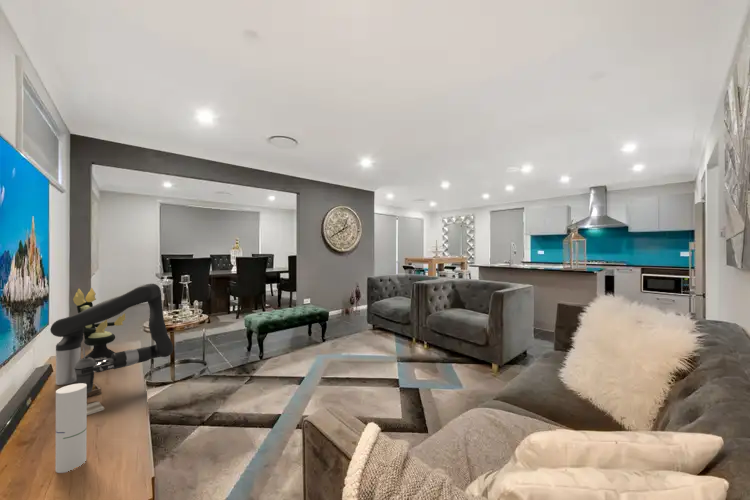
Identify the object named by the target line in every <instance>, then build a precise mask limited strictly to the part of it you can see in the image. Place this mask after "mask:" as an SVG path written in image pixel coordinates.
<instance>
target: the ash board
mask: <svg viewBox="0 0 750 500" xmlns="http://www.w3.org/2000/svg"><path fill="white" fill-rule="evenodd" d="M102 411H105V406H103V405H102V403H100V401H98V400H97V401H94V402H91V403H87V416H89V415H93V414H96V413H99V412H102Z"/></svg>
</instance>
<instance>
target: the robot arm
mask: <svg viewBox="0 0 750 500" xmlns="http://www.w3.org/2000/svg"><path fill="white" fill-rule="evenodd" d="M145 303H147V304H148V307H149V317H148V329H149V333H150V338H151V339H152V340H153V341H154V342H155V344H153V345H149V346H144V347H139V348H135V349H134V348H133V349H128V350H122V351H117V352H115V353H113V354H112V355H111V358H105V357H100V358H95V359H94V360H95V362H96V365H95V366H91V367H87V368H82V369H81V373H82V374H84V373H88V372H94V373H101V372H105V371H110V370H117V369H121V368H125V367H129V366H133V365H136V364H139V363H143V362H148V361H149V360H152V359H156V358H166V357H169V356H171V355H172V353H173V352H174V345H173V342H172V339H171V338H170V336H169V334H168V330H167V327H166V323H165V319H164V312H163V302H162V290H161V287H160V286H159V285H158V284H156V283H147V284H142V285H138V286H137V287H135V288H133V289H132V290H130V291H127V292H126V293H123V294H121V295H118V296H115V297H112V298H109V299H107V300H104V301H101V302H99V303H97V304H94V305H93V306H92V307H90V308H88V309H86V310H84V311H82V312H80V313H78V312H77V313H76V314H73V315H70V316H67V317H62V318H59V319H57V320H56V321H54V322H53V323H52V325H51V326H50V333H51V335H52V336H54V337H58V338H61V340H60V341H59V342H57V343H56V345H55V385H57V386H64V385H65V386H66V385H71V384H75V383H77V378H76V373H75V369H74V368H75V365H76V363H77V362H78V361H79V360H80V359H82V352H81V351H82V342H83V341H84V327H85V326H88V325H91V324H98V323H102V322H104V321H105V320H107V321H108V320H110V319H111V318H113V317H116V316H119V315H120V314H123V312H124V311H126V310H127V309H129V308H132V307H135V306H137V305H140V304H145Z"/></svg>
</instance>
